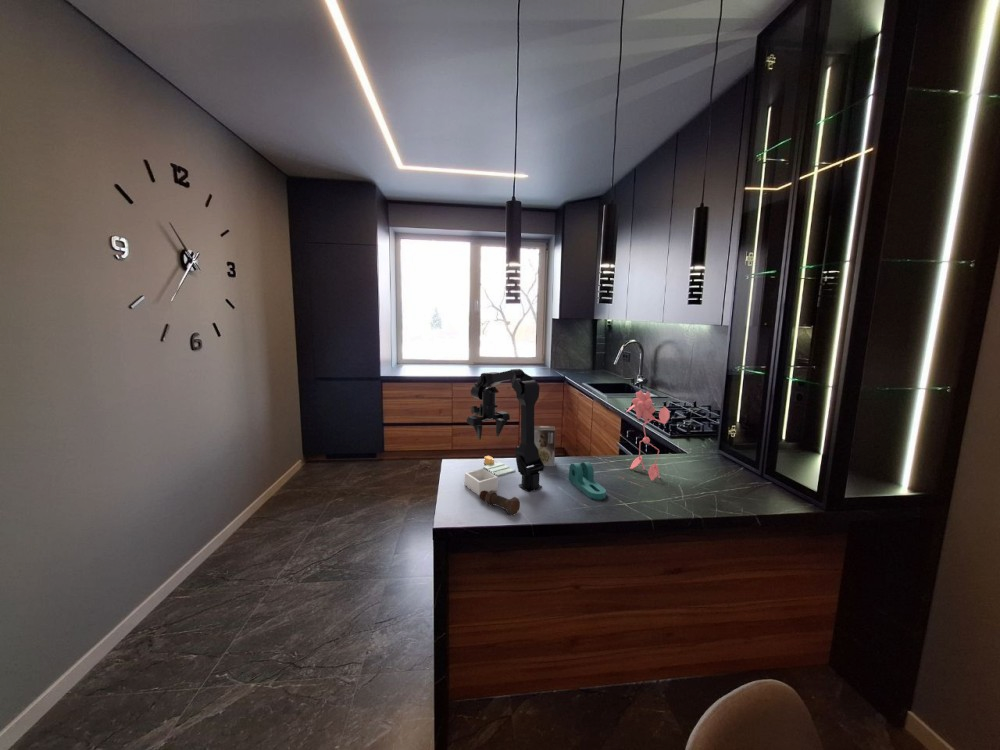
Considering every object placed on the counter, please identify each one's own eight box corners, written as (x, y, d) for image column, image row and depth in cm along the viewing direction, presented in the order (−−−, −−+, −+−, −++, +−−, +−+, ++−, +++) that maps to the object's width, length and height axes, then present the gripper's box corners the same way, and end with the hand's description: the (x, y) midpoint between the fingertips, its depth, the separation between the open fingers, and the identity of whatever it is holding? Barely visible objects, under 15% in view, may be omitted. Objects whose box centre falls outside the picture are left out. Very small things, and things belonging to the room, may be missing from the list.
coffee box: (554, 461, 172) (555, 425, 170) (554, 466, 166) (555, 430, 163) (533, 460, 173) (534, 425, 171) (533, 465, 167) (533, 429, 164)
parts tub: (497, 490, 143) (497, 477, 142) (479, 495, 139) (479, 482, 138) (482, 480, 151) (482, 468, 150) (464, 485, 147) (464, 472, 146)
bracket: (568, 480, 153) (569, 461, 152) (584, 478, 155) (585, 459, 154) (592, 500, 136) (593, 479, 135) (609, 498, 138) (610, 477, 137)
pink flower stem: (634, 462, 172) (637, 383, 166) (676, 486, 147) (682, 395, 142) (603, 466, 167) (606, 386, 162) (641, 492, 143) (646, 399, 137)
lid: (515, 472, 160) (515, 465, 160) (497, 476, 155) (497, 469, 155) (494, 460, 172) (494, 454, 172) (477, 464, 167) (477, 458, 167)
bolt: (483, 503, 136) (516, 517, 127) (474, 501, 133) (508, 515, 123) (489, 487, 138) (522, 499, 128) (480, 484, 134) (513, 496, 125)
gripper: (496, 396, 176) (495, 429, 178) (460, 401, 165) (460, 436, 168) (511, 400, 167) (510, 436, 169) (473, 406, 156) (473, 443, 159)
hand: (488, 437), depth 167 cm, fingers open, 9 cm apart
